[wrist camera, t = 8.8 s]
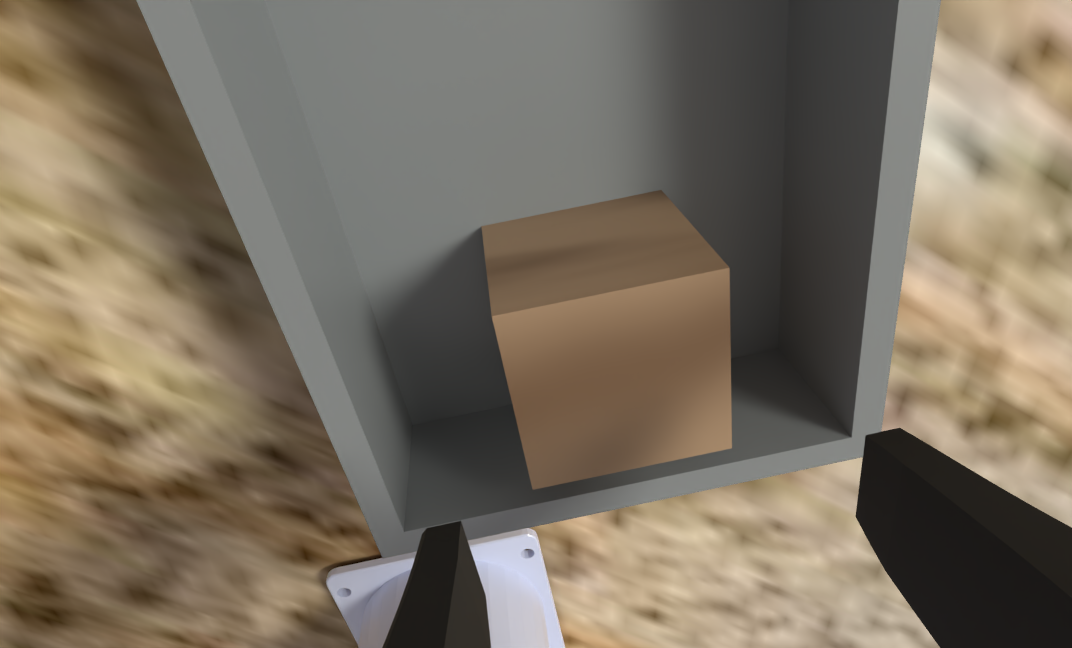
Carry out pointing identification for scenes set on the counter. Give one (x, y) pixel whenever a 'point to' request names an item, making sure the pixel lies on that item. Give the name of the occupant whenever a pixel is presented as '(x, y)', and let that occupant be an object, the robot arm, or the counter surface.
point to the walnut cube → (611, 336)
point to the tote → (551, 185)
